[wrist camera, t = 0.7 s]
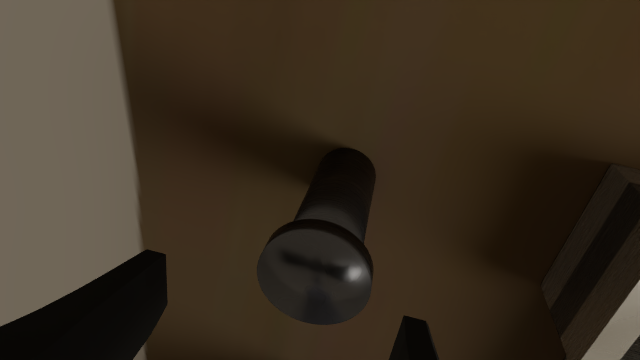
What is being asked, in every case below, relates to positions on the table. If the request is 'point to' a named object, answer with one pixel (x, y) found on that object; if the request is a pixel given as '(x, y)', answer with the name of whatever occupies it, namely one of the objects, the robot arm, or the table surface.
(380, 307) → the table surface
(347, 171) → the round dark gray knob
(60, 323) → the robot arm
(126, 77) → the table surface
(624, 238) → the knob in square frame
